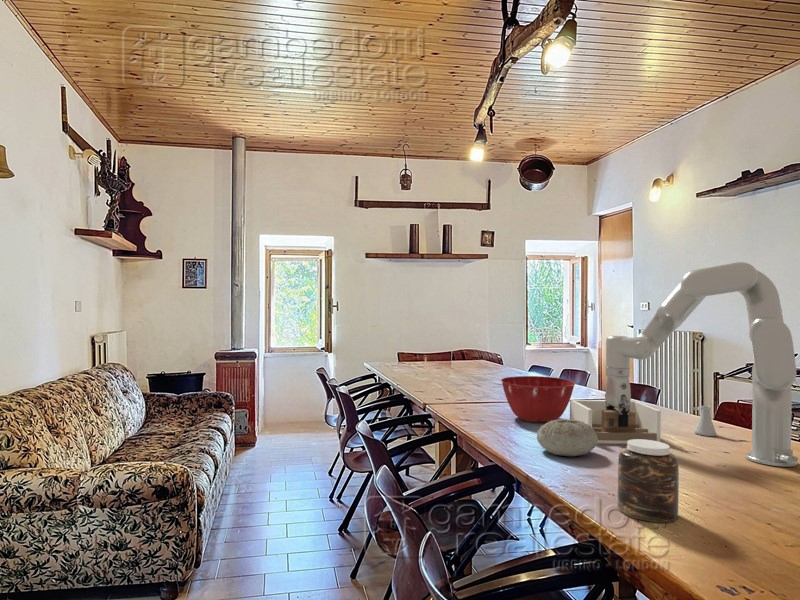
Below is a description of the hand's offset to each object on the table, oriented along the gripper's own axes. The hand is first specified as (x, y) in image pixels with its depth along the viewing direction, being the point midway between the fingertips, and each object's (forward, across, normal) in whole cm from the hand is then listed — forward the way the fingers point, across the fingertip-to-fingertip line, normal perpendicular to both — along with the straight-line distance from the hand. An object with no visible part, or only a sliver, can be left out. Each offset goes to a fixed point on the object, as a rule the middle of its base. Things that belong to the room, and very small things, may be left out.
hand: (616, 423), depth 180 cm
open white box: (+6, +5, -1) cm, 8 cm away
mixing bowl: (+6, +32, +18) cm, 37 cm away
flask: (+6, +11, -37) cm, 39 cm away
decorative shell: (+6, -16, +22) cm, 28 cm away
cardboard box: (+5, 0, 0) cm, 5 cm away
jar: (+6, -63, +20) cm, 66 cm away
